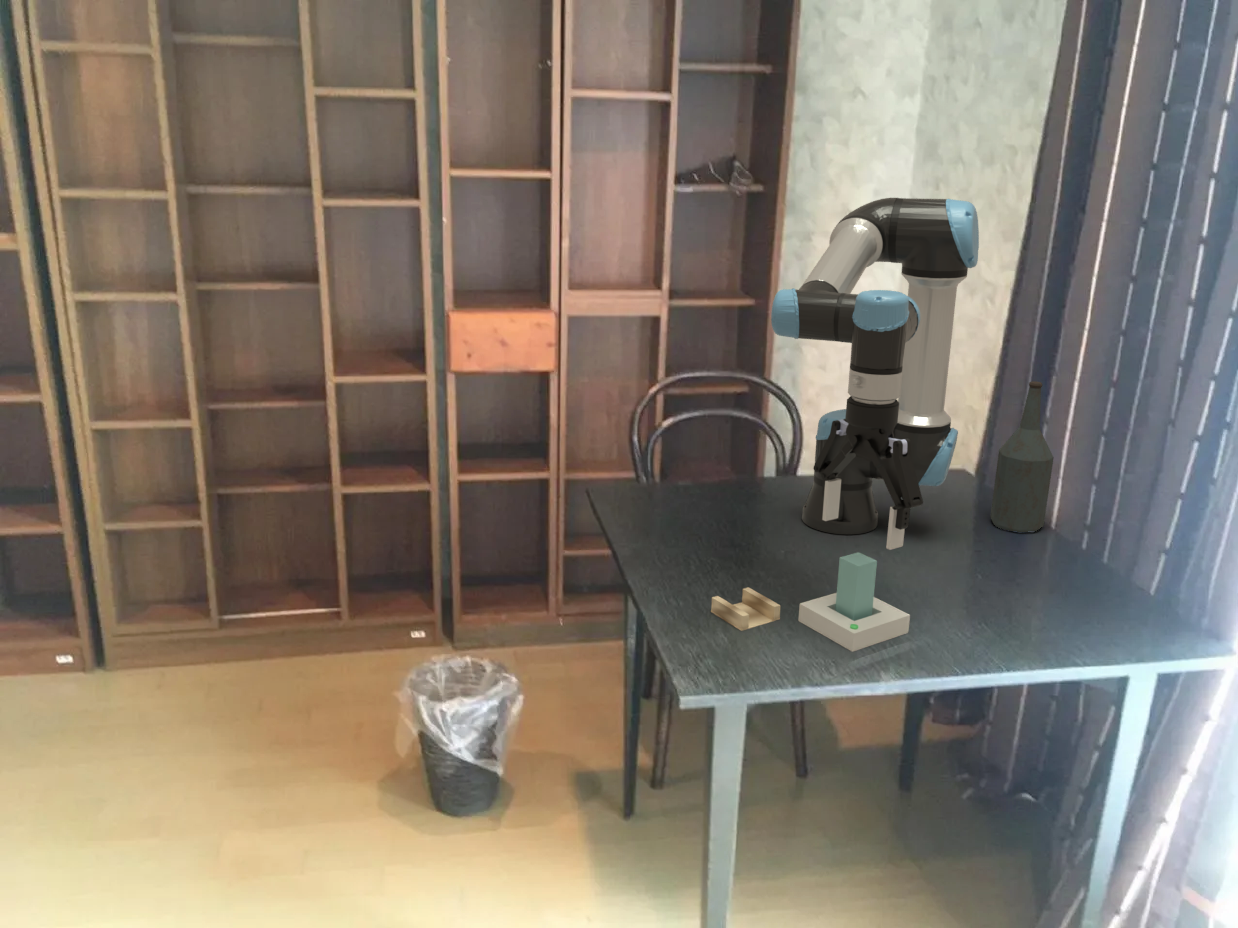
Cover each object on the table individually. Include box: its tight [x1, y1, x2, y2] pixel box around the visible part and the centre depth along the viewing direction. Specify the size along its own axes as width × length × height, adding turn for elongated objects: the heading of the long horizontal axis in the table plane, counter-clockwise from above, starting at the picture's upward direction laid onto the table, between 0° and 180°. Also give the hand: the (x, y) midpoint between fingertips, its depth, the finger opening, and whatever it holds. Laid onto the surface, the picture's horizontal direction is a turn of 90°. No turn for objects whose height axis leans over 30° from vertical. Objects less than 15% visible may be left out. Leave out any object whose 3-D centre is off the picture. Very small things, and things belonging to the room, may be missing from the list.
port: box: [798, 592, 911, 653], centre depth 161 cm, size 12×12×5 cm
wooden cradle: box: [710, 587, 781, 632], centre depth 165 cm, size 8×8×4 cm
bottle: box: [989, 381, 1054, 532], centre depth 205 cm, size 10×10×30 cm
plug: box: [835, 551, 878, 621], centre depth 160 cm, size 4×4×12 cm
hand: (861, 532), depth 157 cm, fingers open, 13 cm apart
